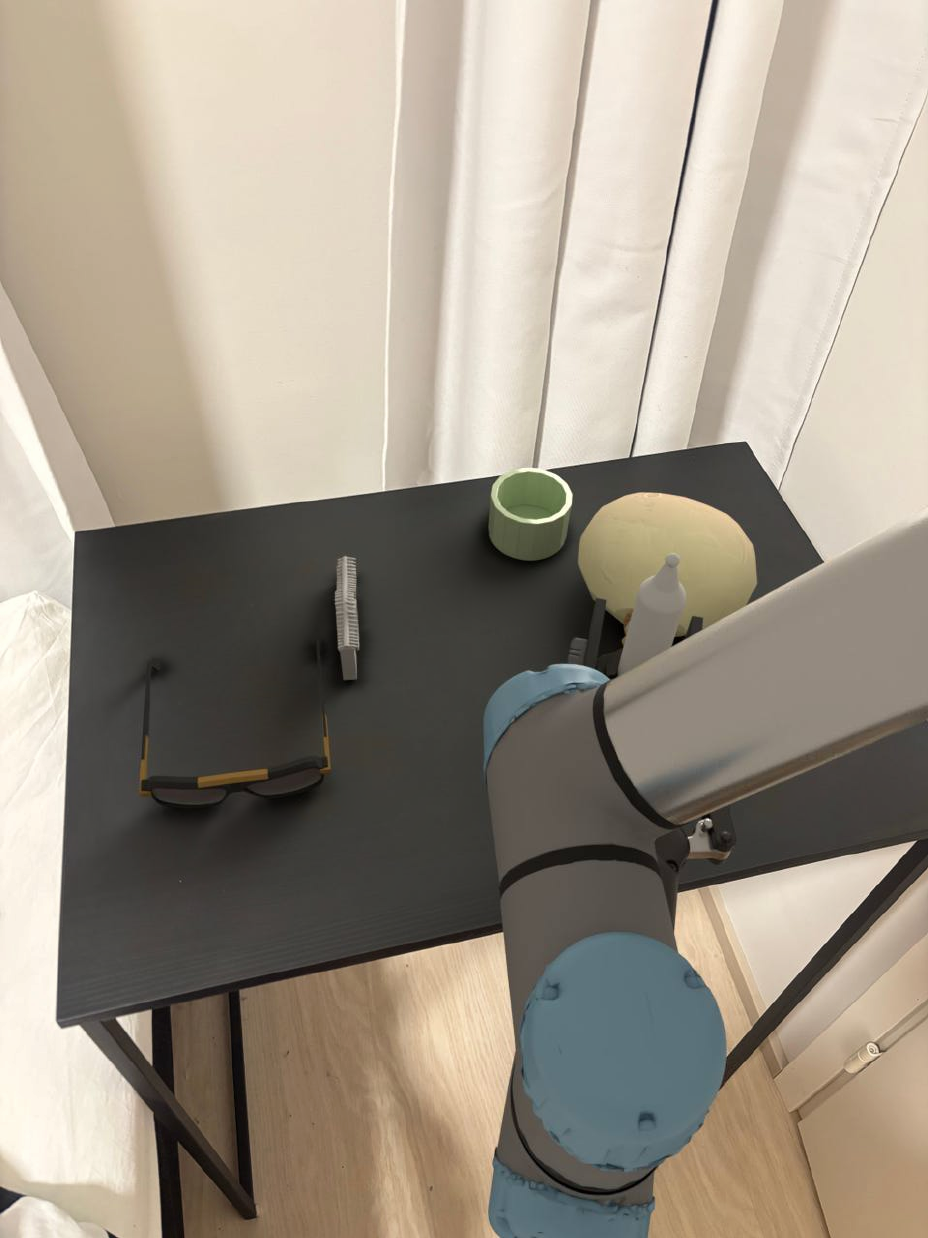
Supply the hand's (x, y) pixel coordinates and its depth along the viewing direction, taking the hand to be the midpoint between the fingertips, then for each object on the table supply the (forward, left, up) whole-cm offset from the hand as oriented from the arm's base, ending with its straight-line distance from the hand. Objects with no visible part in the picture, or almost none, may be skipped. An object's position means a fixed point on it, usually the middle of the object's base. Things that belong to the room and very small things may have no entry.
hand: (645, 620), depth 66 cm
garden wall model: (+25, +3, -14) cm, 28 cm away
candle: (-2, +5, -13) cm, 14 cm away
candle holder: (+17, -16, -14) cm, 27 cm away
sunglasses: (+26, +16, -14) cm, 34 cm away
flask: (+2, -13, -14) cm, 19 cm away
